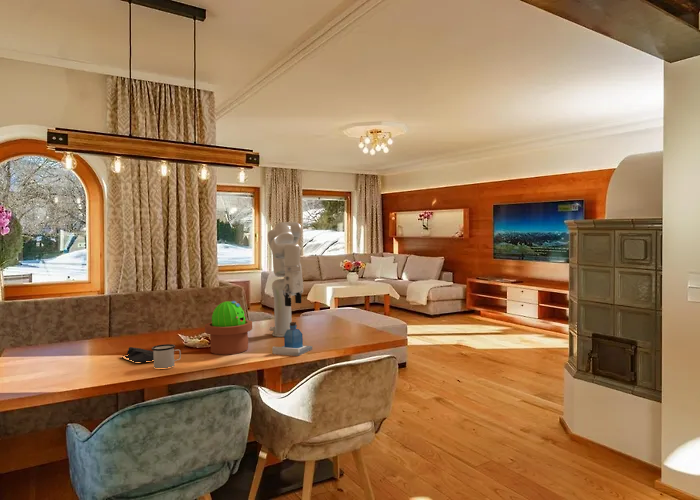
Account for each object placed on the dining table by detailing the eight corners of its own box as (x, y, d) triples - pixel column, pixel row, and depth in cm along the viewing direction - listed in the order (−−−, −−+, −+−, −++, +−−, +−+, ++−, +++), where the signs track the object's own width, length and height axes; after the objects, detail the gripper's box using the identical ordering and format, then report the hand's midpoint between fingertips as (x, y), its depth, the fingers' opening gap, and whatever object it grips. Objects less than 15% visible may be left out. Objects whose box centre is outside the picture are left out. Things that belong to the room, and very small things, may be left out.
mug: (156, 371, 198) (155, 350, 197) (149, 367, 205) (148, 346, 205) (184, 366, 205) (184, 345, 205) (177, 362, 213) (176, 342, 212)
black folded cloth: (132, 367, 207) (131, 356, 207) (118, 358, 224) (117, 348, 224) (167, 361, 217) (167, 350, 217) (151, 352, 234) (151, 343, 234)
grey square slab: (272, 353, 224) (272, 347, 224) (287, 347, 237) (287, 340, 237) (298, 356, 218) (298, 349, 218) (312, 349, 231) (312, 342, 231)
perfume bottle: (293, 349, 224) (292, 324, 224) (284, 347, 228) (283, 323, 228) (302, 346, 229) (302, 322, 229) (294, 345, 233) (293, 321, 233)
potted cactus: (196, 354, 226) (195, 302, 226) (224, 344, 247) (223, 296, 246) (235, 357, 218) (233, 303, 217) (260, 347, 239) (259, 297, 238)
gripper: (290, 271, 219) (291, 307, 220) (307, 268, 235) (308, 302, 236) (276, 270, 222) (277, 307, 223) (294, 268, 238) (295, 301, 239)
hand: (293, 304), depth 229 cm, fingers open, 9 cm apart
